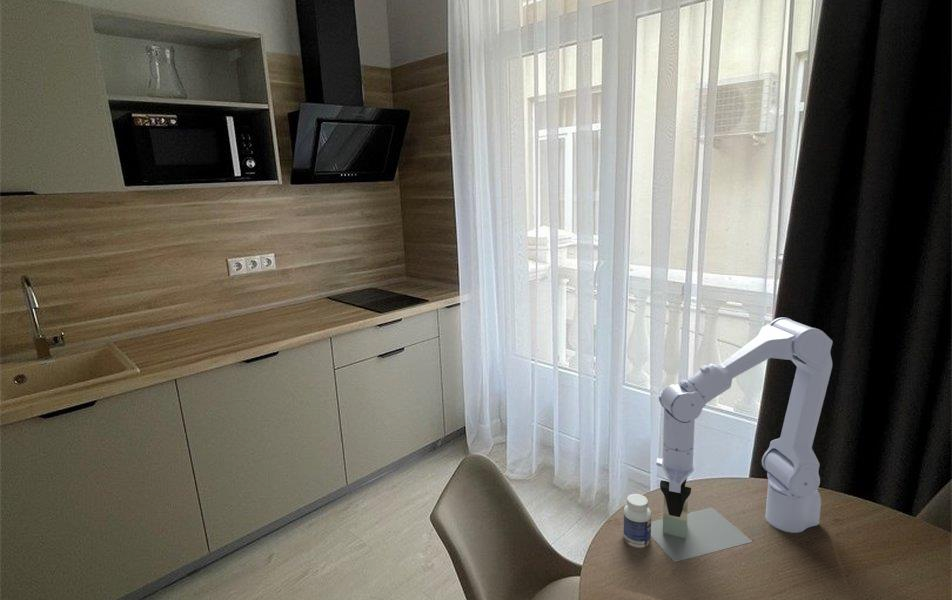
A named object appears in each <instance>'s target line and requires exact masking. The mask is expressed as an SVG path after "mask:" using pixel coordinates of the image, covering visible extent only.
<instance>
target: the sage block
mask: <svg viewBox="0 0 952 600" xmlns="http://www.w3.org/2000/svg"><path fill="white" fill-rule="evenodd" d="M688 513H689V511H688V512H687V519H688ZM662 519H663V533H665V534H670V535H674V536H678V537H682V538H686V534H687V521H685V520H680V519H676V518H672V517H667V516H663V515H662Z"/></svg>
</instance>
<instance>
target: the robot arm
mask: <svg viewBox="0 0 952 600" xmlns="http://www.w3.org/2000/svg"><path fill="white" fill-rule="evenodd" d="M833 342H834V341H833V340H832V339H831V338H830V337H829V336H828V335H827V334H826V333H825V332H824V330H821V329H819V328H816V327H812V326H809V325H806V324H803V323H801V322H798V321H795V320H793V319H791V318H789V317H783V316H782V317H777V318H775V319H773V320H771V322H770V323H769V324H766V325H764V326H762V327H761V329H760V331H759V333H758V335H757V336H755V338H753V339H751V341H749V342H747V343H746V344H745V345H743V347H741V348H740V349H738V350H737V351H736V352H735V353H733V354H731V355H730V356H729V357H727V359H725V360H724V361H723V362H721V363H709V364H707V365H706V364H703V365H702V366H700V367H699V370H698V371H696V372H695V373H694V374H692V375H691V376H689V377H687V378H686V379H682V380H680V381H679V383H675V384H670V385H668V386H666V387H664V389H663V390H662V392H661V395H659V396H658V401H659V403H660V405H661V407H662V408H663V427H662V428H663V431H662V432H663V433H662V435H663V437H662V458H661V457H660V458H659V457H658V458H656V461H655V464H656V466H658V467H661V468H662V470H663V472H664V474H665V476H666V478H667V480H668V481H667V480H662V479H660V483H659V488H660V491H661V492H662V494H663V497H664V496H665V499H666V503H667V509H668V513H669V515H671V516H676V517H680V516H681V513H682V510H683V506H684V503H685V501H686V499H687V498H688V499H689V497H690V495H691V493H692V487H690V486H689V487H688V486H686V483H687V480H688V478H689V477H690V475H692V473H694V469H695V466H694V448H695V447H694V444H695V423H696V422H695V421H696V419H698V418H699V417H700V415H701V414H702V411H703V409H704V408H705V407H706V405H707V404H708V403H710V402H711V401H712V400H715V398H717V397H718V396H721V394H723V393H725V392H727V391H728V390H729V389H731V387H732V383H733V379H735V378H736V377H738V376H741V375H742V374H744V373H746V372H747V371H749V370H751V369H753V368H754V367H756V366H758V365H760V364H761V363H763V362H765V361H767V360H768V359H777V360H778V359H779V360H786V361H787V360H789V361H791V362H792V363H793V364H794V365H795V366H796V369H795V373H794V379H793V381H792V382H793V383H792V386H791V389H790V390H791V391H790V394H789V400H788V404H787V408H786V411H785V416H784V420H783V424H782V428H781V432H780V437H778V438H775V439H773V440H771V441H770V443H769V447H768V448H767V450H766V451H765V452H764V454H763V455H762V458H761V466H762V467H763V469H764V470H765V471H766V472H767V473H766V475H767V476H766V477H767V492H766V493H767V494H766V504H765V516H764V517H765V520H766V522H767V523H768V524H770V525H771V526H772V527H774V528H775V529H778V530H779V531H783V532H785V533H792V534H793V533H802V532H804V531H805V530H806V529H808V528H811V527H812V528H813V527H815V526H818V525H819V524H820V514H821V507H822V506H821V505H822V498H821V494H820V492H819V490H818V489H819V486H820V484H821V477H820V474H819V473H820V472H819V470H820V466H821V465H820V462H819V459H818V458H817V456H816V454H815V452H814V450H813V444H814V440H815V436H816V432H817V427H818V424H819V420H820V417H821V413H822V409H823V405H824V401H825V397H826V393H827V388H828V386H829V381H830V377H831V373H832V369H833V359H832V355H831V351H832V350H831V349H832V348H833V347H832V346H833Z"/></svg>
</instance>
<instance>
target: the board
mask: <svg viewBox="0 0 952 600" xmlns="http://www.w3.org/2000/svg"><path fill="white" fill-rule="evenodd" d="M651 538H652V539H653V540H654V542H655V543H656V544H657V545H658V546H659V547H660V548H661V549H662V551H664V552H665V554H666V555H667V556H668V557H669V558H670V559H671V561H673V562H674V563H677V562H680V561H681V562H682V561H686V560H688V559H692V558H696V557H701V556H703V555H707V554H712V553H715V552H719V551H723V550H728V549H730V548H734V547H739V546H741V545H742V546H743V545H747V544H749V543H754V542H753V540H751V538H749V537H748V536H747V535H746V534H745V533H743V532H742V531H741V530H740V529H739V528H737V527H736V526H735V524H733V523H731V522H730V521H729V520H728V519H727V518H725V516H723V515H722V514H721V513H719V511H717V510H716V509H715V508H713V507H707V508H703V509H698V510H695V511H692V512H688V519H687V534H686V538H682V537H678V536H674V535H670V534H665V533H663V518H660V519H657V520H653V521H652V520H651Z"/></svg>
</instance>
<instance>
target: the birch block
mask: <svg viewBox="0 0 952 600" xmlns="http://www.w3.org/2000/svg"><path fill="white" fill-rule="evenodd" d="M662 511H663V515H662V517H663V516H667V517H672V518H676V519H680V520H685V521H687V512H688V513H689V497H688V498H687V499H686V501H685V503H684V506H683V510H682V513H681V516H680V517H676V516H671V515H669V513H668V509H667V503H666V499H665V496H664V495H663V510H662Z"/></svg>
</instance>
